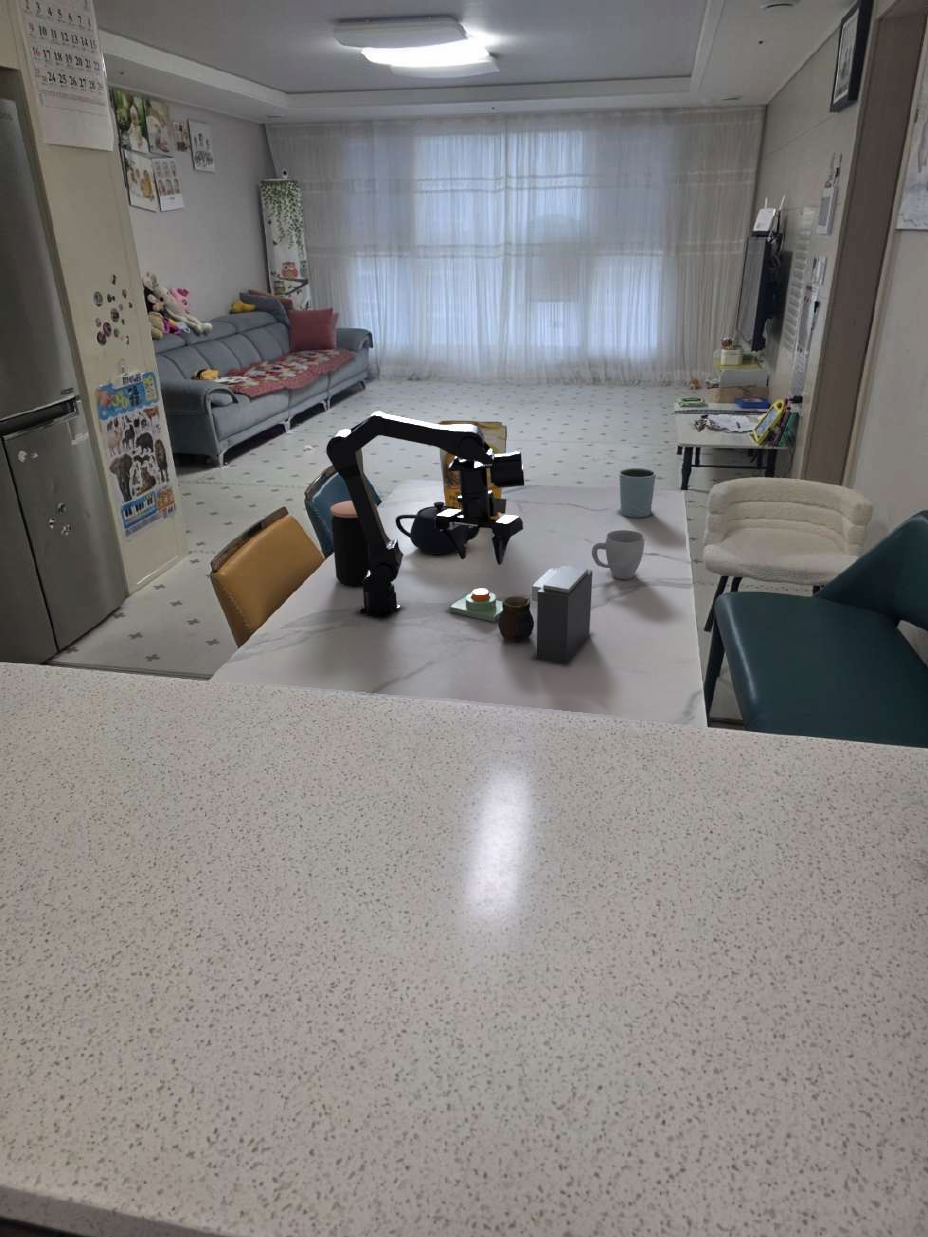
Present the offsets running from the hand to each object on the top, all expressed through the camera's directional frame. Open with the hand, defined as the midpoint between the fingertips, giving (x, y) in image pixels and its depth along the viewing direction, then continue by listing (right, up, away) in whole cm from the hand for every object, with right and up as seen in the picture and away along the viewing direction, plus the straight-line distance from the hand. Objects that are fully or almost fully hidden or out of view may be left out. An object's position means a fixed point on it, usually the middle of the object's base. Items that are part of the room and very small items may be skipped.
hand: (481, 561), depth 173 cm
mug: (+32, -2, +22) cm, 40 cm away
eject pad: (0, -10, +5) cm, 11 cm away
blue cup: (+46, +18, +65) cm, 81 cm away
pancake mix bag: (-1, +16, +61) cm, 63 cm away
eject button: (0, -8, +4) cm, 9 cm away
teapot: (-9, +6, +41) cm, 43 cm away
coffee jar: (-29, -3, +22) cm, 36 cm away
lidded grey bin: (+15, -17, -11) cm, 25 cm away
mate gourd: (+7, -16, -7) cm, 19 cm away
